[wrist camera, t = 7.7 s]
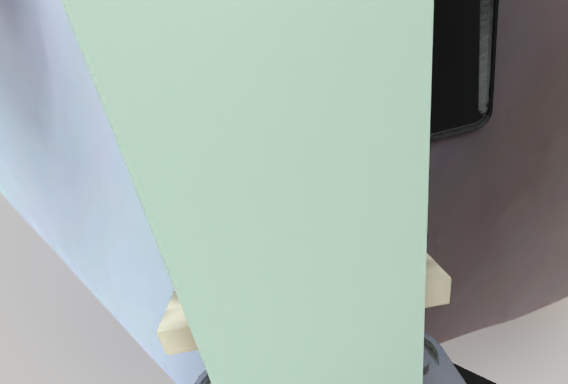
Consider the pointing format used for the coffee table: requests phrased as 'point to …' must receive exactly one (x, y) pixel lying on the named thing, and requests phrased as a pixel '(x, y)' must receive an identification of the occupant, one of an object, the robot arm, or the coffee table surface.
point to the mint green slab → (279, 174)
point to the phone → (462, 65)
